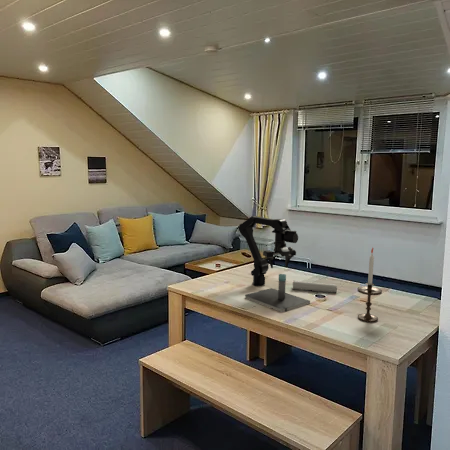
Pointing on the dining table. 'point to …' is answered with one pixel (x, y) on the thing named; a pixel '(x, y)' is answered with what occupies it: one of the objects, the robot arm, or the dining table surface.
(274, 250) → the robot arm
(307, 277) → the dining table surface
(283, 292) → the ball
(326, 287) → the tube
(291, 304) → the notebook
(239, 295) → the dining table surface
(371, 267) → the candlestick
